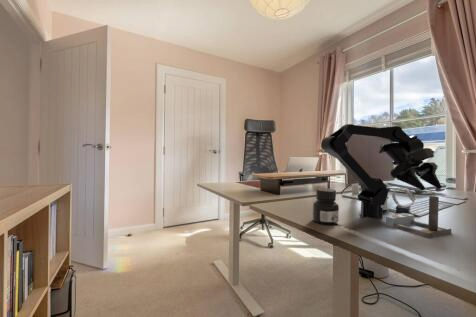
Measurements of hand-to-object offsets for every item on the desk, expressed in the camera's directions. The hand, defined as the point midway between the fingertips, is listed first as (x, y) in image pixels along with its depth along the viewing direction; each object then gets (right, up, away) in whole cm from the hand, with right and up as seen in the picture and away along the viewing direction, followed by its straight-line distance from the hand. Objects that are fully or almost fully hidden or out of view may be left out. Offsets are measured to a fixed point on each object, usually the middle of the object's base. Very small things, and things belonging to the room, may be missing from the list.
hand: (432, 188), depth 78 cm
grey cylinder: (-7, -13, -8) cm, 17 cm away
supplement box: (-4, -13, +26) cm, 30 cm away
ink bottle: (-34, -13, +7) cm, 37 cm away
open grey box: (-9, -14, -4) cm, 17 cm away
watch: (+3, -13, +18) cm, 23 cm away
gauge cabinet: (-11, -14, +1) cm, 17 cm away
